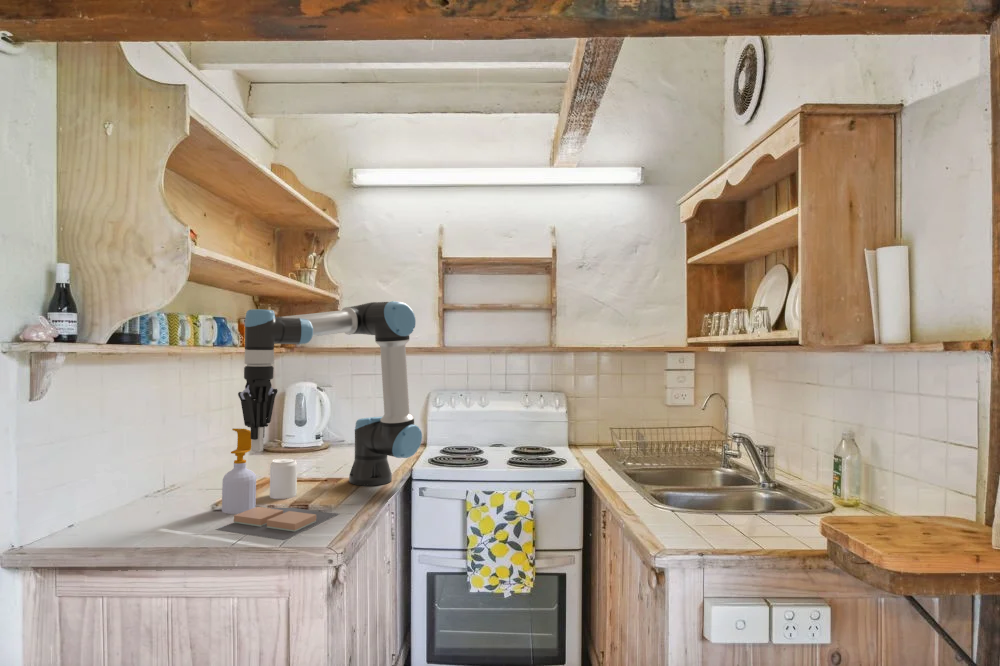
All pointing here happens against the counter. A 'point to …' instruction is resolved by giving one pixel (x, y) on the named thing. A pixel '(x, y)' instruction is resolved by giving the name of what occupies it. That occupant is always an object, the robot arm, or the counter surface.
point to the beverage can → (283, 478)
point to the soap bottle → (239, 479)
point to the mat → (277, 533)
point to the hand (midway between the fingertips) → (257, 450)
